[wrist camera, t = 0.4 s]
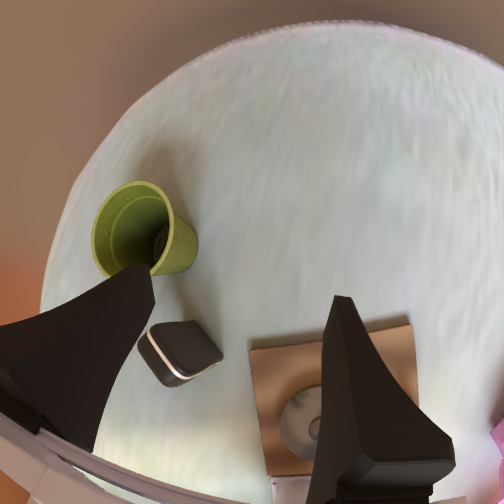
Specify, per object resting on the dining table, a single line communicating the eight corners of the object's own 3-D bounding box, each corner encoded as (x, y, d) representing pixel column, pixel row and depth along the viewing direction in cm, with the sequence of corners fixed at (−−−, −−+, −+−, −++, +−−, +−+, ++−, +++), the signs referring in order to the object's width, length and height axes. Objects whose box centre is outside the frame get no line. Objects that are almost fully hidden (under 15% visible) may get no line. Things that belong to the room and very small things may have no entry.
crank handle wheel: (287, 458, 34) (279, 477, 29) (277, 388, 36) (268, 401, 31) (413, 439, 30) (422, 457, 25) (410, 367, 32) (421, 377, 27)
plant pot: (205, 195, 44) (166, 165, 33) (222, 278, 42) (182, 270, 31) (136, 220, 47) (87, 200, 36) (147, 297, 44) (95, 294, 33)
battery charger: (175, 334, 42) (126, 343, 31) (194, 317, 42) (147, 322, 31) (206, 374, 40) (163, 396, 29) (226, 358, 40) (187, 377, 29)
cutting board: (416, 451, 31) (418, 456, 30) (269, 470, 36) (267, 476, 34) (409, 323, 35) (412, 324, 33) (251, 349, 39) (247, 351, 38)
